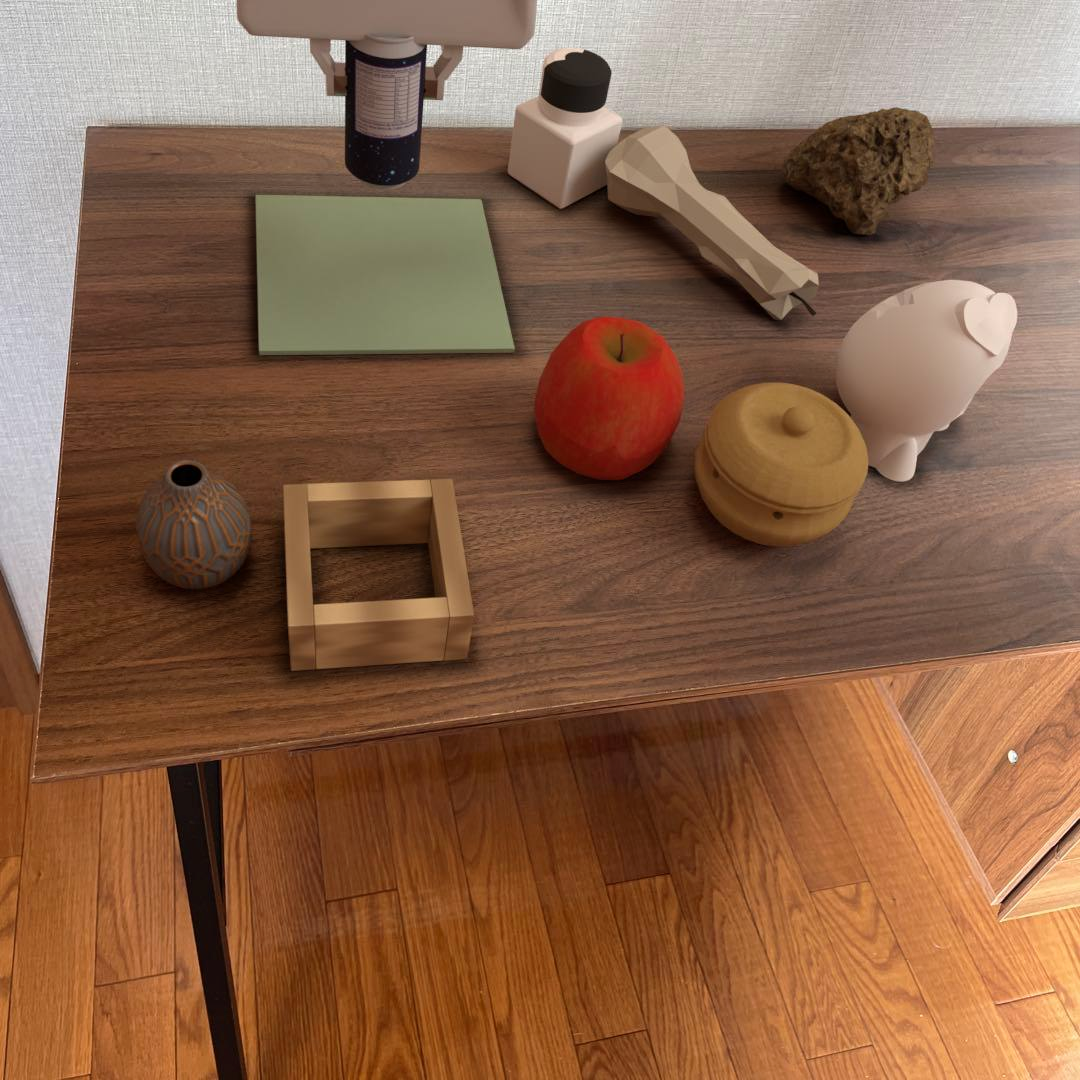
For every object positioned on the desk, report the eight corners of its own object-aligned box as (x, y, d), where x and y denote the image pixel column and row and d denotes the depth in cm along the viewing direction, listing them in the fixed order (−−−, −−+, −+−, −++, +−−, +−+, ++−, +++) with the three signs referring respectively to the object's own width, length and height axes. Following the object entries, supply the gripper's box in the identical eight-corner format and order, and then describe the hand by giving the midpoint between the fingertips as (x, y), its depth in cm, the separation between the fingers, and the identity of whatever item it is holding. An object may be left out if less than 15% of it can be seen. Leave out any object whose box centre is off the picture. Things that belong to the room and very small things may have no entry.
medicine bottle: (610, 185, 106) (635, 66, 97) (560, 211, 102) (582, 90, 93) (555, 149, 108) (575, 30, 99) (505, 174, 105) (521, 52, 95)
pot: (675, 549, 79) (711, 454, 71) (688, 435, 86) (723, 337, 78) (835, 585, 79) (889, 494, 71) (835, 467, 86) (884, 373, 79)
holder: (290, 671, 68) (288, 626, 64) (285, 532, 75) (282, 484, 71) (466, 659, 71) (474, 615, 67) (446, 525, 77) (452, 478, 73)
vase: (255, 603, 71) (246, 516, 64) (142, 609, 70) (121, 521, 63) (254, 520, 75) (246, 430, 68) (147, 524, 74) (128, 433, 67)
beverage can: (433, 173, 87) (444, 23, 77) (388, 205, 83) (395, 52, 74) (375, 144, 88) (379, -7, 79) (329, 174, 85) (328, 20, 75)
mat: (259, 355, 85) (258, 350, 85) (255, 199, 97) (255, 194, 97) (514, 353, 89) (514, 348, 89) (480, 203, 101) (481, 198, 101)
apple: (673, 409, 88) (708, 304, 80) (660, 510, 81) (696, 406, 73) (541, 379, 88) (562, 271, 80) (516, 477, 81) (536, 370, 73)
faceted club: (648, 162, 108) (840, 316, 99) (582, 207, 105) (773, 369, 96) (653, 89, 100) (863, 249, 91) (582, 136, 97) (790, 305, 88)
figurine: (790, 428, 88) (857, 278, 77) (847, 358, 95) (918, 209, 83) (916, 499, 85) (1006, 354, 74) (966, 421, 92) (1057, 276, 80)
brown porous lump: (778, 179, 112) (913, 93, 109) (843, 283, 109) (985, 198, 106) (763, 127, 102) (912, 30, 98) (836, 241, 98) (993, 144, 95)
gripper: (221, -101, 66) (237, 112, 76) (556, -75, 70) (527, 123, 81) (221, -145, 69) (237, 64, 80) (539, -118, 74) (514, 77, 85)
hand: (385, 94), depth 81 cm, fingers closed on beverage can, 5 cm apart
